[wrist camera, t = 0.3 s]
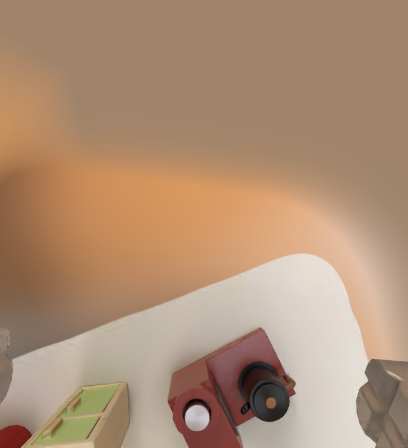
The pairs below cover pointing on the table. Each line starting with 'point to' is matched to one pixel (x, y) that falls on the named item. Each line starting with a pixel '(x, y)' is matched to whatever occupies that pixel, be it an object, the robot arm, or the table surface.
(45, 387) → the table surface
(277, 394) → the kettle
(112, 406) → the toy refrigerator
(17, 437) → the plastic cup
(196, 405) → the power button
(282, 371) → the warming base
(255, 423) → the table surface
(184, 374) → the coffee maker
